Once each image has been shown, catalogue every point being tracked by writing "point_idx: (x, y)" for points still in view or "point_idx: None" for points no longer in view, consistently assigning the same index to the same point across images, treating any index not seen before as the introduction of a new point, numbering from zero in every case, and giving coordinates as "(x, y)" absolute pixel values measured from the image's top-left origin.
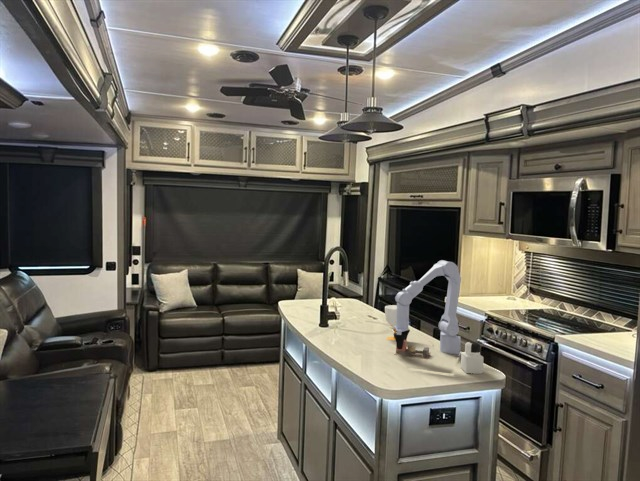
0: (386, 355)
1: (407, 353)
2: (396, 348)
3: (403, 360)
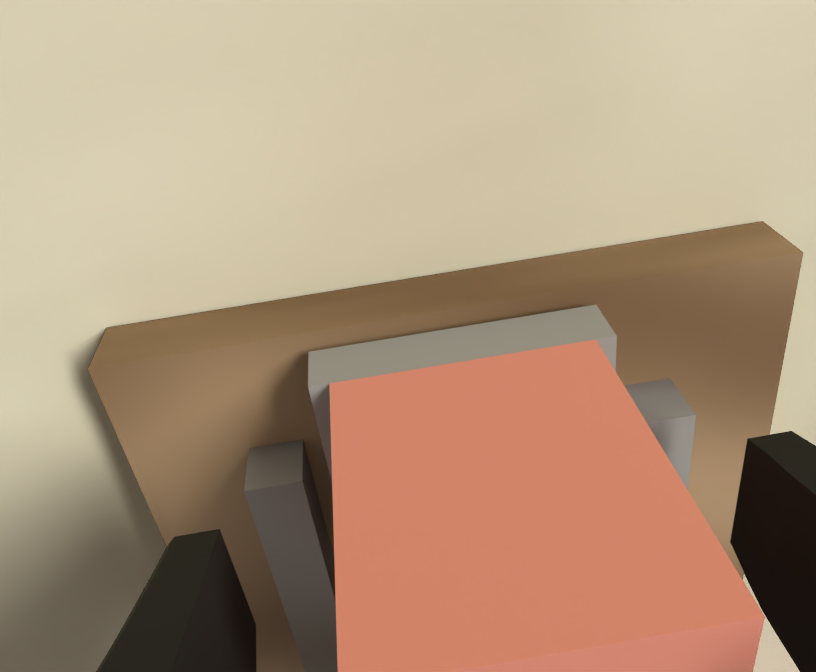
0: (124, 75)
1: (294, 632)
2: (332, 432)
3: (62, 552)
